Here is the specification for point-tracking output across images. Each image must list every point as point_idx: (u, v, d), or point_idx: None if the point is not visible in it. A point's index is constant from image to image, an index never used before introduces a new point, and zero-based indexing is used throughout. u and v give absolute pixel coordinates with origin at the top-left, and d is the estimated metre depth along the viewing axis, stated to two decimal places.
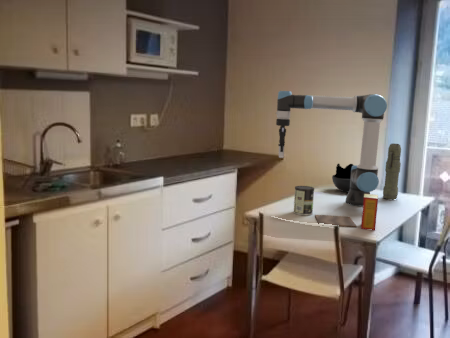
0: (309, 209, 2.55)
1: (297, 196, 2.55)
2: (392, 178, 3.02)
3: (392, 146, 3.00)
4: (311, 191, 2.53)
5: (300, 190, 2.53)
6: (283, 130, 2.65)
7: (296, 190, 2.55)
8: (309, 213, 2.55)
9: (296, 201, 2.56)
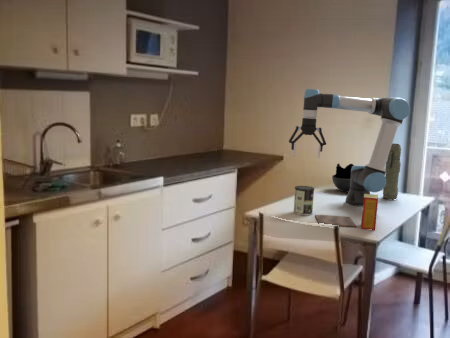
0: (309, 209, 2.55)
1: (297, 196, 2.55)
2: (392, 178, 3.02)
3: (392, 146, 3.00)
4: (311, 191, 2.53)
5: (300, 190, 2.53)
6: None
7: (296, 190, 2.55)
8: (309, 213, 2.55)
9: (296, 201, 2.56)
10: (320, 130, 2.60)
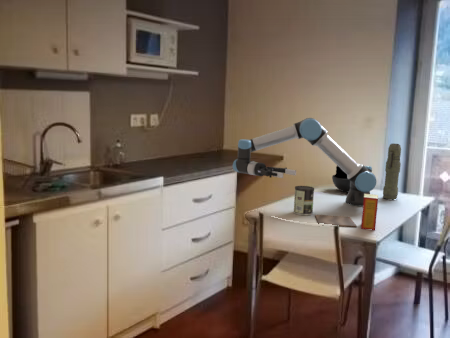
0: (309, 209, 2.55)
1: (297, 196, 2.55)
2: (392, 178, 3.02)
3: (392, 146, 3.00)
4: (311, 191, 2.53)
5: (300, 190, 2.53)
6: None
7: (296, 190, 2.55)
8: (309, 213, 2.55)
9: (296, 201, 2.56)
10: None
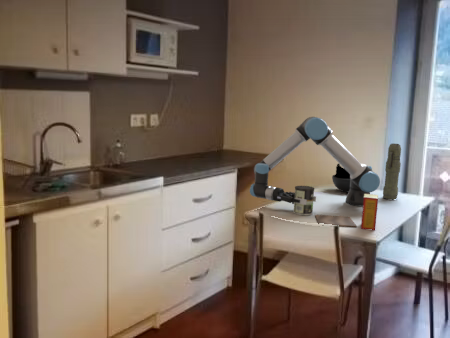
0: (309, 209, 2.55)
1: (297, 196, 2.55)
2: (392, 178, 3.02)
3: (392, 146, 3.00)
4: (311, 191, 2.53)
5: (300, 190, 2.53)
6: None
7: (296, 190, 2.55)
8: (309, 213, 2.55)
9: None
10: None
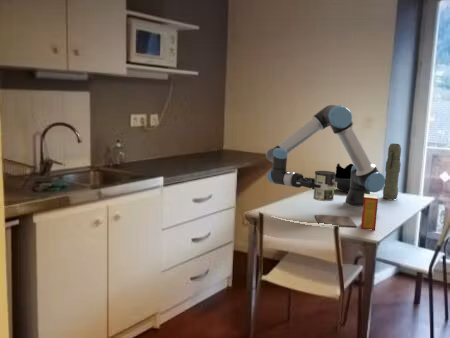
0: (330, 195, 2.44)
1: (317, 181, 2.44)
2: (392, 178, 3.02)
3: (392, 146, 3.00)
4: (332, 176, 2.42)
5: (321, 175, 2.42)
6: None
7: (316, 175, 2.44)
8: (330, 199, 2.44)
9: None
10: None
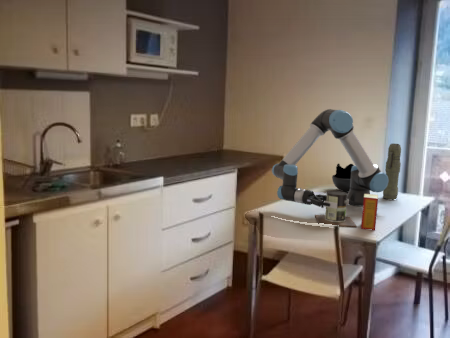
0: (342, 216, 2.40)
1: None
2: (392, 178, 3.02)
3: (392, 146, 3.00)
4: (344, 197, 2.39)
5: (333, 196, 2.38)
6: None
7: (328, 196, 2.41)
8: (342, 220, 2.40)
9: (328, 207, 2.41)
10: None
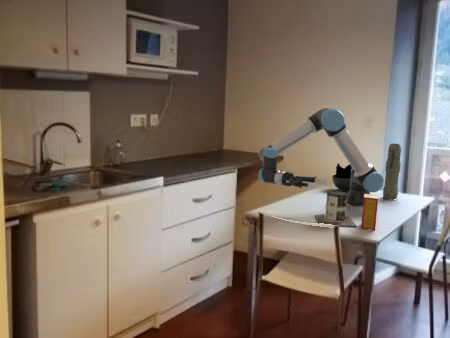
0: (342, 216, 2.40)
1: (329, 202, 2.40)
2: (392, 178, 3.02)
3: (392, 146, 3.00)
4: (345, 197, 2.39)
5: (333, 196, 2.38)
6: None
7: (328, 196, 2.41)
8: (342, 220, 2.40)
9: (328, 207, 2.41)
10: None
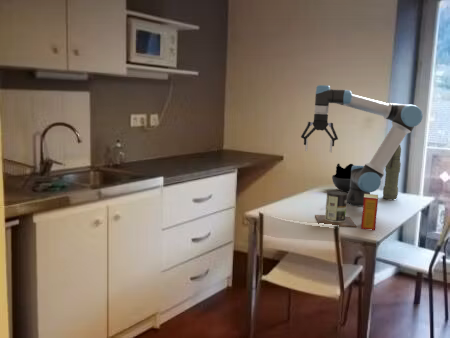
0: (342, 216, 2.40)
1: (329, 202, 2.40)
2: (392, 178, 3.02)
3: None
4: (344, 197, 2.39)
5: (333, 196, 2.38)
6: None
7: (328, 196, 2.41)
8: (342, 220, 2.40)
9: (328, 207, 2.41)
10: (332, 125, 2.67)
